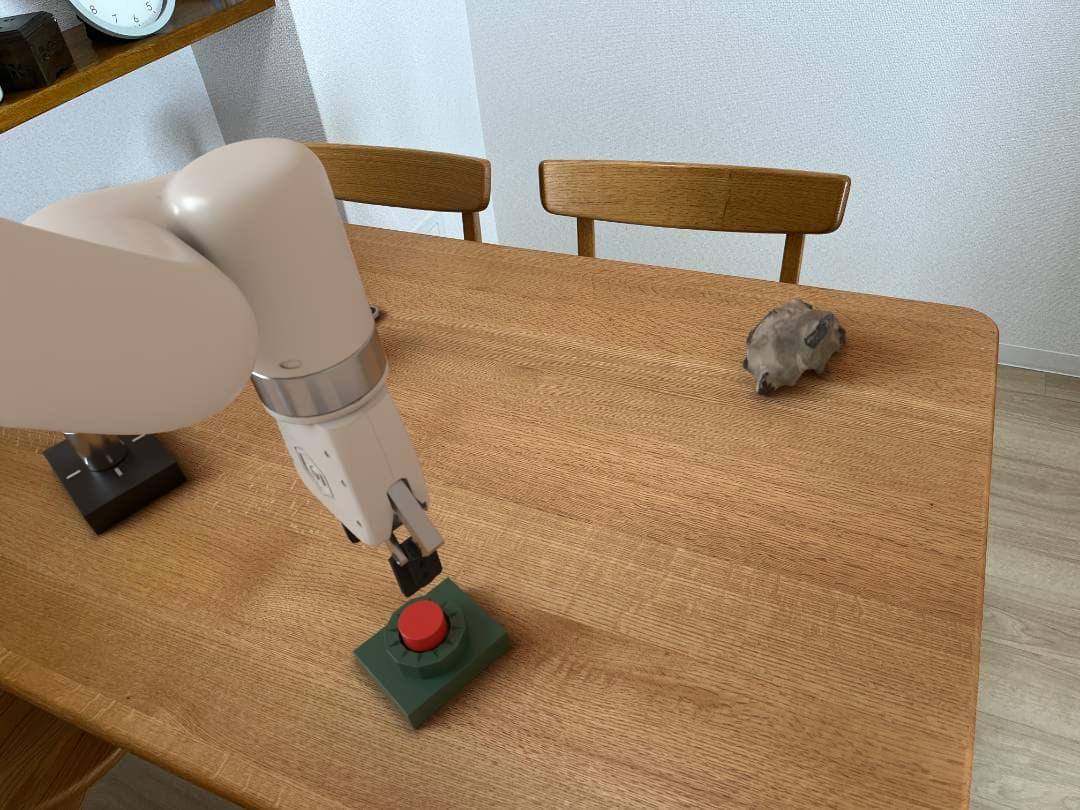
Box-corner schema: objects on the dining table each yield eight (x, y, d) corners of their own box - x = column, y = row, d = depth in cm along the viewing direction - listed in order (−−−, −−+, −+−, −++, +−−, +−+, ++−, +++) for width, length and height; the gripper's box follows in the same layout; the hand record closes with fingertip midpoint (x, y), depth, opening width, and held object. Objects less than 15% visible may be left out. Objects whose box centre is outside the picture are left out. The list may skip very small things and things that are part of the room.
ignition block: (414, 730, 62) (402, 704, 60) (359, 665, 67) (345, 639, 64) (511, 646, 67) (503, 618, 64) (452, 591, 72) (443, 563, 69)
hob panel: (188, 480, 87) (175, 460, 85) (97, 535, 82) (82, 515, 80) (140, 423, 95) (127, 403, 93) (55, 470, 91) (40, 450, 89)
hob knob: (118, 436, 89) (92, 397, 85) (134, 453, 87) (108, 413, 83) (79, 459, 87) (51, 419, 83) (95, 477, 84) (67, 437, 81)
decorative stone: (770, 309, 95) (796, 242, 87) (845, 340, 92) (879, 274, 84) (718, 396, 86) (743, 330, 78) (800, 434, 83) (834, 370, 75)
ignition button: (420, 660, 63) (415, 648, 61) (394, 632, 65) (389, 620, 64) (456, 630, 64) (452, 618, 63) (430, 604, 66) (425, 592, 65)
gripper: (196, 336, 50) (292, 524, 62) (341, 469, 39) (423, 665, 51) (301, 282, 53) (373, 470, 65) (461, 391, 43) (512, 591, 54)
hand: (394, 554), depth 58 cm, fingers open, 6 cm apart
